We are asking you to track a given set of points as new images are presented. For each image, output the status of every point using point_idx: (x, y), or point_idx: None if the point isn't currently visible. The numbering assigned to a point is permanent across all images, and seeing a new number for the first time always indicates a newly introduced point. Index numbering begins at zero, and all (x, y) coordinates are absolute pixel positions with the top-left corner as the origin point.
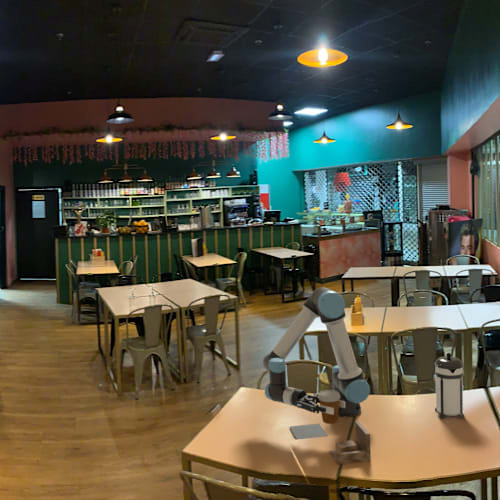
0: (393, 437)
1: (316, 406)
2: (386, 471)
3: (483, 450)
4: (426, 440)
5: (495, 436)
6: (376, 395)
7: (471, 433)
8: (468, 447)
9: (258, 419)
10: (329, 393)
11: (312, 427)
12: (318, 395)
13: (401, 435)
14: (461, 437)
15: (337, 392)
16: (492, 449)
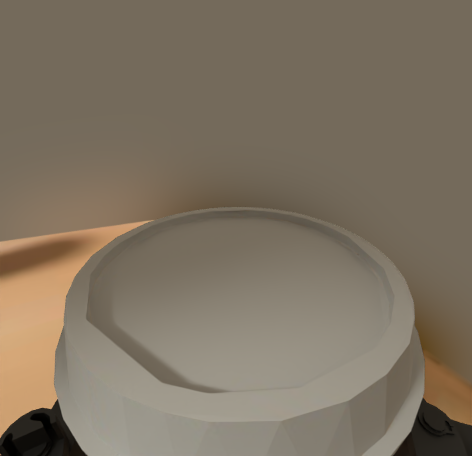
0: (53, 348)
1: (453, 432)
2: None
3: (98, 234)
4: (66, 288)
5: (31, 237)
6: None
7: (14, 255)
8: (90, 244)
9: None
10: (209, 273)
11: None
12: (392, 409)
13: (31, 338)
14: (39, 259)
15: (146, 231)
16: (91, 230)
